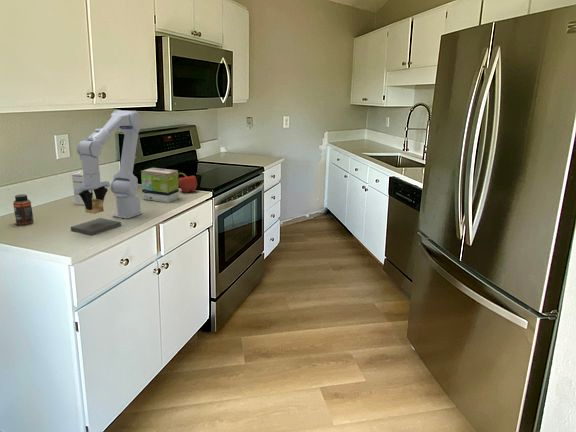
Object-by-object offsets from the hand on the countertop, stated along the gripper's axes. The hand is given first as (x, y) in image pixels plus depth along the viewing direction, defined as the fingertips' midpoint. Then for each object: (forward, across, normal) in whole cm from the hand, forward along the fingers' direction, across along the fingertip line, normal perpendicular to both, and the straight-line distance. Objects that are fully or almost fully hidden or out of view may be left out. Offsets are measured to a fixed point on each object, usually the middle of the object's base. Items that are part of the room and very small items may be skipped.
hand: (94, 208), depth 162 cm
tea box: (+8, -48, -10) cm, 50 cm away
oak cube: (+2, 0, 0) cm, 2 cm away
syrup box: (+8, -24, -34) cm, 42 cm away
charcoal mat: (+8, 0, 0) cm, 8 cm away
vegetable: (+8, -69, -9) cm, 70 cm away
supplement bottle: (+8, +10, -28) cm, 31 cm away
